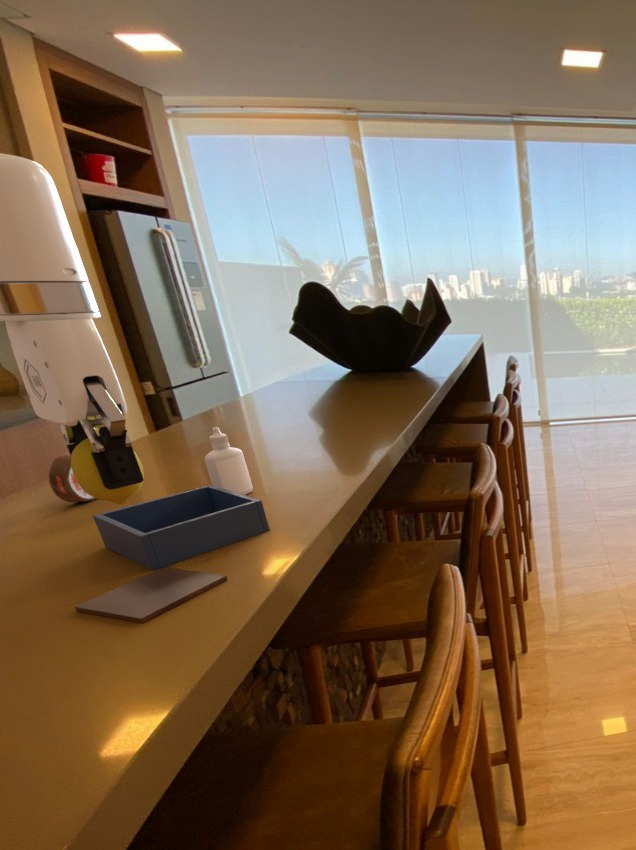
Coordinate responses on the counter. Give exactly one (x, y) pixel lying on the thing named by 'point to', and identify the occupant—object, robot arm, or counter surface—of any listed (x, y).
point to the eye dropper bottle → (227, 465)
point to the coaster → (151, 594)
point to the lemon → (98, 476)
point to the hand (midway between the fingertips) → (111, 479)
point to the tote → (181, 525)
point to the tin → (66, 481)
